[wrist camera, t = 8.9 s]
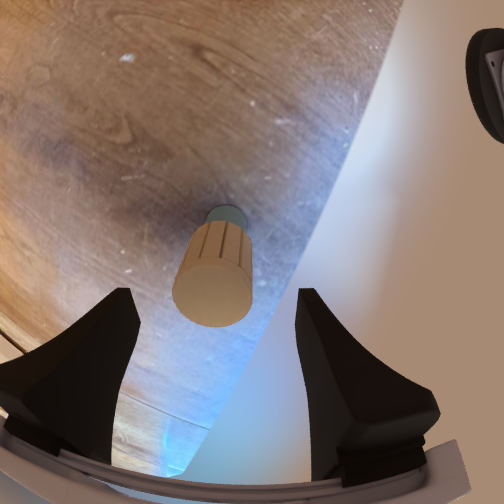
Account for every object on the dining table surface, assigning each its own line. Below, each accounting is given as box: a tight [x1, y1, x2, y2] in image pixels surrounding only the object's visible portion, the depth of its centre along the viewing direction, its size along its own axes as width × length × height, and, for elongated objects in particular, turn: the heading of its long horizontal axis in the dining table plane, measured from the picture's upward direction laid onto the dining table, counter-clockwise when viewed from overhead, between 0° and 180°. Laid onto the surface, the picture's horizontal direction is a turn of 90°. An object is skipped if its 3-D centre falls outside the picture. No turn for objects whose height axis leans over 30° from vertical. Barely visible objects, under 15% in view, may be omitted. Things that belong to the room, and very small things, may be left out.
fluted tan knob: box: [172, 221, 252, 327], centre depth 14 cm, size 4×4×4 cm
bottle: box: [205, 205, 247, 233], centre depth 17 cm, size 3×3×6 cm
